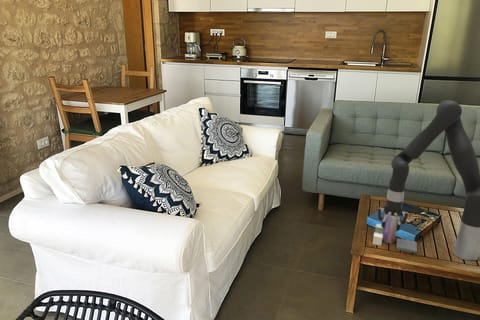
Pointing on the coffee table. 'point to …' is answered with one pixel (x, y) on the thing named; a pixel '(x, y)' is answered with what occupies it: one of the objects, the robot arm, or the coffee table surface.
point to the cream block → (377, 239)
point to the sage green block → (379, 229)
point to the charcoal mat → (406, 245)
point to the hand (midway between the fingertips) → (390, 229)
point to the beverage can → (390, 229)
